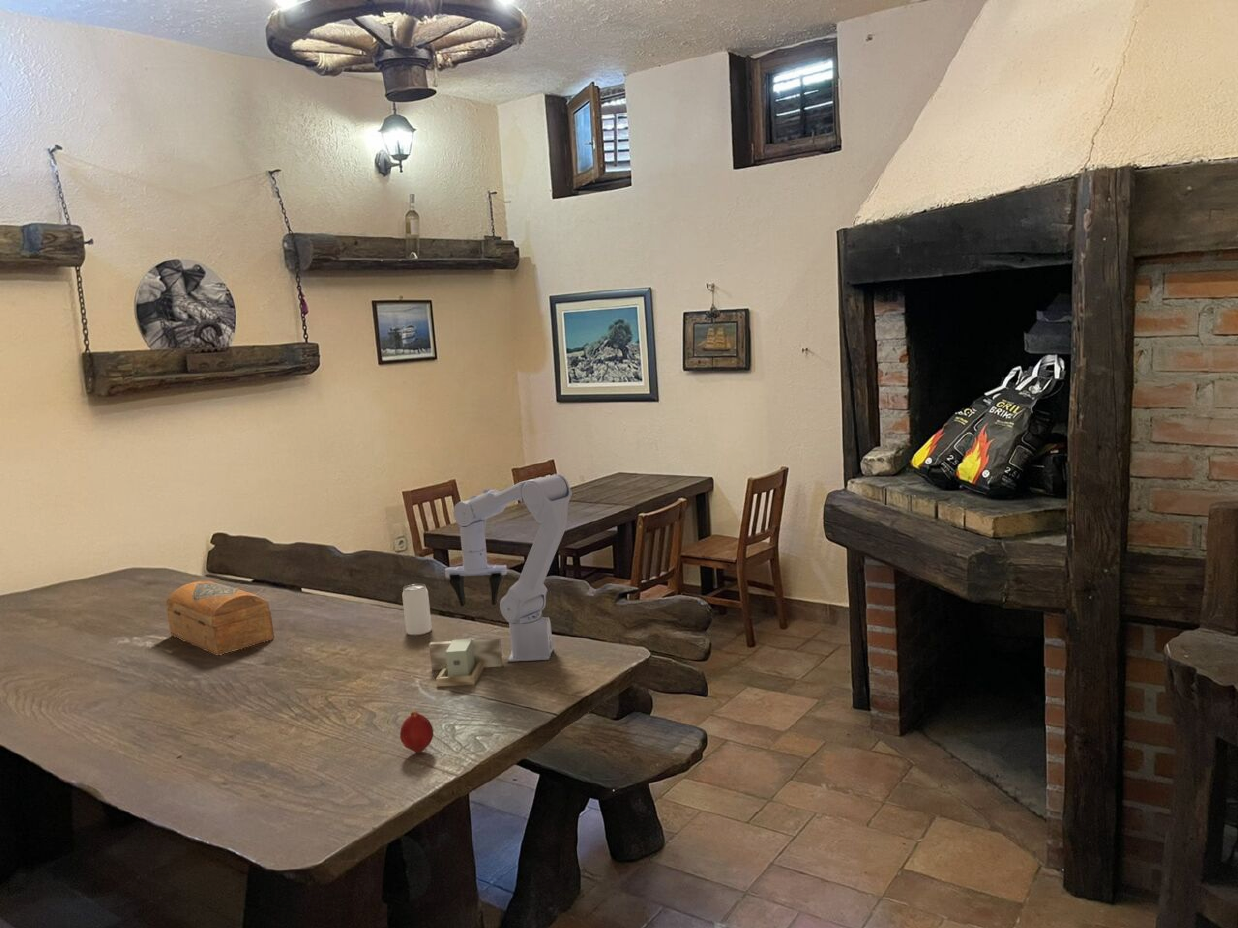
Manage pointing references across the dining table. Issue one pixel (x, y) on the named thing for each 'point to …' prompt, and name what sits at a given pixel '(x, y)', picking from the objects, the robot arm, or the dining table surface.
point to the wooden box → (218, 617)
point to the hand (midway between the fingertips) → (478, 604)
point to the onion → (416, 732)
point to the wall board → (484, 656)
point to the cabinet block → (460, 658)
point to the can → (416, 609)
